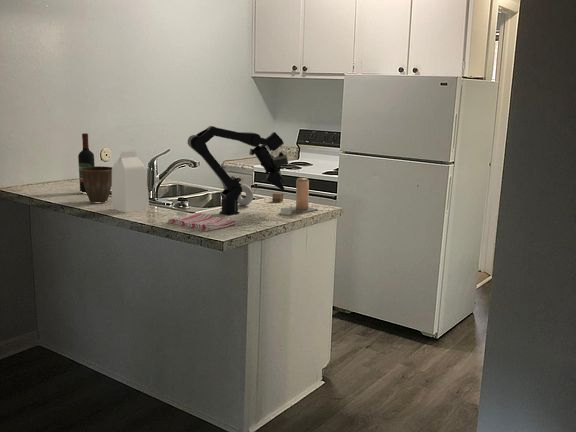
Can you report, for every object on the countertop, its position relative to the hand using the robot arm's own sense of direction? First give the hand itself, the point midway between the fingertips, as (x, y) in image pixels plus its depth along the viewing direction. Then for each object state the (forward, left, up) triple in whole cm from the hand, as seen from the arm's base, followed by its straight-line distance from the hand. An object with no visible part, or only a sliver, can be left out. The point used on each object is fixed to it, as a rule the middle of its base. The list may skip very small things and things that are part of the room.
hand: (283, 186), depth 271 cm
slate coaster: (+7, -5, -11) cm, 14 cm away
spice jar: (+7, -5, -10) cm, 14 cm away
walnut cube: (+13, +18, -11) cm, 25 cm away
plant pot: (-55, +68, -11) cm, 88 cm away
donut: (-7, +20, -11) cm, 24 cm away
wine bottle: (-48, +94, -11) cm, 106 cm away
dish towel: (-44, 0, -12) cm, 46 cm away
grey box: (-3, -5, -11) cm, 13 cm away
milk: (-52, +44, -11) cm, 69 cm away
